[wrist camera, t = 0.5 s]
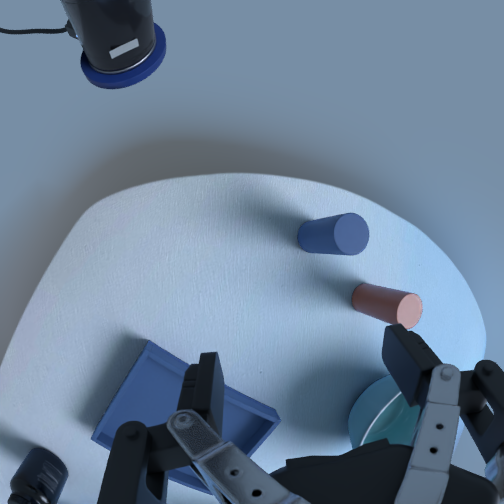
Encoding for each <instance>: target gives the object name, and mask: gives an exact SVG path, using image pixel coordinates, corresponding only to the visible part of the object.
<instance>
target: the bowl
mask: <svg viewBox="0 0 504 504" xmlns="http://www.w3.org/2000/svg"><path fill="white" fill-rule="evenodd" d="M419 410H420V406H419V405H417V406H414V407H411V408H410V406H409V405H408V403H407V401H406V399H405V398H404V396H403V394H402V393H401V391H400V389H399V387H398V386H397V384H396V382H395V381H394V379H393V377H392V376H391V375H389V376H386V377H383V378H381V379H379V380H377V381H376V382H374V383H373V384H371V385H370V386H369V387H368V388H367V389H366V390H365V391H364V392H363V393H362V394H361V395H360V396H359V398H358V399H357V400H356V402H355V404H354V405H353V407H352V409H351V412H350V415H349V419H348V431H349V435H350V440H351V444H352V449H355V448H357V447H359V446H361V445H363V444H366V443H370V442H374V441H377V440H380V439H384V438H387V439H388V441H389V444H404V445H409V442H410V439H411V436H412V433H413V430H414V427H415V423H416V420H417V417H418V413H419Z"/></svg>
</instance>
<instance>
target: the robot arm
mask: <svg viewBox="0 0 504 504" xmlns="http://www.w3.org/2000/svg"><path fill="white" fill-rule="evenodd" d="M60 1H61V3H62V5H63V7H64V10H65V12H66V14H67V16H68V18H69V19H68V21H67V24H66V25H65V28H61V29H28V30H7V29H3V28H0V32H2V33H6V34H30V33H46V34H49V33H50V34H55V33H63V32H66V31H68V33H69V35H70V36H71V37H73V38H76V39H78V40H79V41H80V43H81V45H82V47H83V50H84V52H85V54H86V56H87V58H88V61H89V63H90V65H91V67H92V68H93V69H94V70H95V71H97V72H99V73H101V74H106V75H116V74H122V73H125V72H128V71H131V70H133V69H135V68H137V67H138V66H140V65H141V64H143V63H144V62H145V61H146V60H147V59H148V58H149V57H150V56H151V54H152V53H153V51H154V49H155V46H156V35H155V32H154V24H153V15H152V6H151V0H60ZM382 359H383V362H384V364H385V366H386V367H387V369H388V371H389V372H390V374H391V376H392V377H393V379H394V381H395V382H396V384H397V386H398V387H399V389H400V391H401V393H402V394H403V396H404V398H405V399H406V401H407V403H408V405H409V406H410V408H411V407H414V406H417V405H419V406H420V410H419V413H418V417H417V420H416V423H415V427H414V430H413V433H412V436H411V439H410V442H409V445H404V444H389V441H388V439H387V438H384V439H380V440H377V441H374V442H370V443H366V444H363V445H361V446H359V447H357V448H355V449H353V450H351V451H349V452H347V453H345V454H343V455H339V456H307V457H300V458H294V459H287V460H286V466H285V467H283V468H280V469H278V470H276V471H274V472H272V473H270V474H267V473H266V472H265V471H264V470H263V469H262V468H260V467H259V466H258V465H257V464H256V463H255V462H253V461H252V460H251V459H250V458H249V457H248V456H247V455H246V454H244V453H243V452H242V451H241V450H240V449H239V448H238V447H237V446H236V445H235V444H234V443H232V442H231V441H227V442H226V441H224V440H223V439H222V425H223V407H224V390H225V385H224V377H223V372H222V368H221V364H220V360H219V356H218V353H217V352H207V353H201V355H200V360H199V364H191V365H190V366H189V367H188V369H187V370H186V371H185V375H184V379H183V383H182V388H181V392H180V397H179V401H178V406H177V410H176V412H174V413H173V414H172V415H170V416H169V418H168V420H167V422H165V423H163V424H160V425H155V426H151V427H146V426H145V424H143V423H142V422H140V421H128V422H126V423H123V424H122V425H121V426H119V428H118V429H117V431H116V434H115V437H114V441H113V444H112V448H111V451H110V455H109V458H108V462H107V466H106V470H105V473H104V477H103V481H102V485H101V489H100V494H99V498H98V502H97V504H166V497H167V486H168V475H169V470H172V469H177V468H181V467H185V466H189V467H190V468H191V469H192V471H193V472H194V473H195V474H196V475H197V477H198V478H199V479H200V480H201V481H202V482H203V484H204V485H205V486H206V487H207V488H208V489H209V490H210V491H211V493H212V494H213V495H214V496H215V498H216V499H217V500H218V501H219V503H220V504H504V372H503V371H502V369H501V368H500V367H499V366H498V365H497V364H496V363H495V362H493V361H491V360H481V361H479V362H478V363H477V364H476V366H475V368H474V370H470V371H459V369H458V368H457V367H455V366H454V365H451V364H443V363H442V362H441V361H440V359H439V358H438V357H437V356H436V354H435V353H434V352H433V351H432V350H431V348H429V346H428V345H427V344H426V343H425V341H424V340H423V339H422V338H421V337H420V335H418V334H416V333H414V332H413V331H407V329H406V328H405V327H404V326H403V325H402V324H401V323H399V324H394V325H390V326H386V328H385V332H384V340H383V347H382ZM486 402H488V403H489V404H490V406H491V408H492V409H493V411H494V415H493V413H492V412H491V411H490V409H489V407H488V406H487V404H486ZM459 415H460V417H461V419H462V420H463V422H464V424H465V426H466V427H467V429H468V431H469V433H470V435H471V436H472V438H473V440H474V442H475V444H476V445H477V447H478V449H479V451H480V453H481V455H482V456H483V458H484V460H485V462H486V464H487V465H486V467H485V476H486V477H485V478H484V477H482V476H479V475H477V474H474V473H471V472H469V471H467V470H464V469H462V468H459V467H457V466H454V465H452V464H450V462H451V458H452V454H453V449H454V444H455V439H456V434H457V428H458V422H459Z"/></svg>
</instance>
